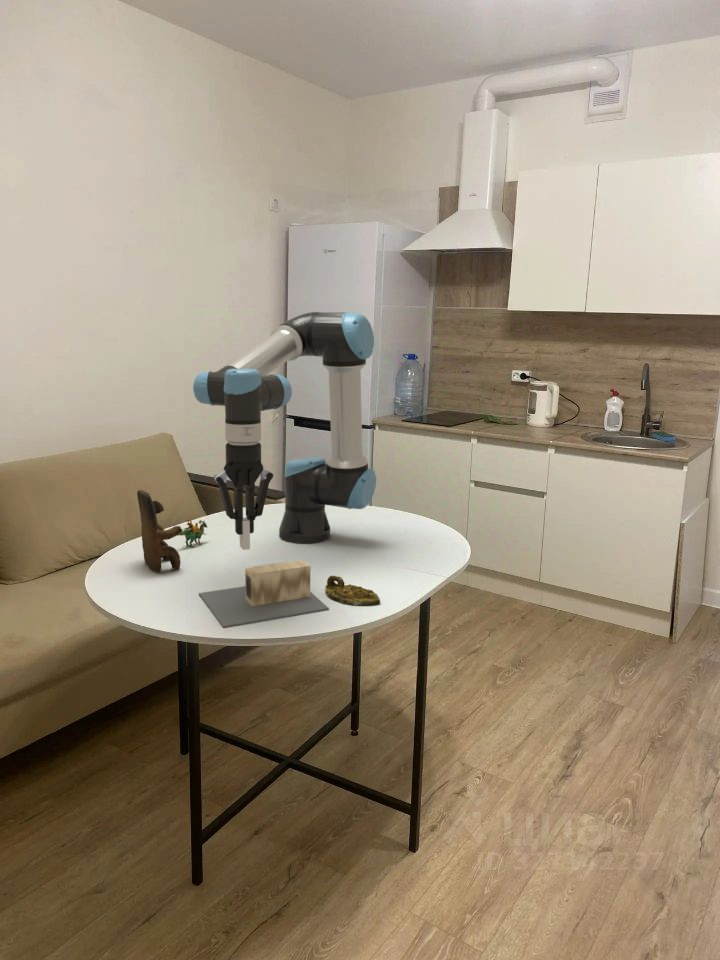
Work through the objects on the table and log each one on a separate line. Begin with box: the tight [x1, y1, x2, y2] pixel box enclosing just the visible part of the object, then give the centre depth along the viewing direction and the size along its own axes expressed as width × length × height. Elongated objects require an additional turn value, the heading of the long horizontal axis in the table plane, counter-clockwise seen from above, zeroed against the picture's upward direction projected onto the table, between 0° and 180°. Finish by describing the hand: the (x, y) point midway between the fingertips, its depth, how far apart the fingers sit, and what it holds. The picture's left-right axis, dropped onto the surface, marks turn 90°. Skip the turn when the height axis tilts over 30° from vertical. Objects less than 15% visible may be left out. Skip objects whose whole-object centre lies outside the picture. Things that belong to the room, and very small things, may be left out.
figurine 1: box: [136, 489, 183, 573], centre depth 184 cm, size 13×8×20 cm, turn 37°
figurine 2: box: [176, 518, 208, 548], centre depth 202 cm, size 3×12×8 cm, turn 143°
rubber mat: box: [198, 586, 330, 629], centre depth 165 cm, size 24×20×1 cm
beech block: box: [244, 559, 311, 606], centre depth 166 cm, size 8×4×14 cm
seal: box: [324, 575, 381, 607], centre depth 169 cm, size 9×5×15 cm
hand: (244, 547), depth 160 cm, fingers closed
